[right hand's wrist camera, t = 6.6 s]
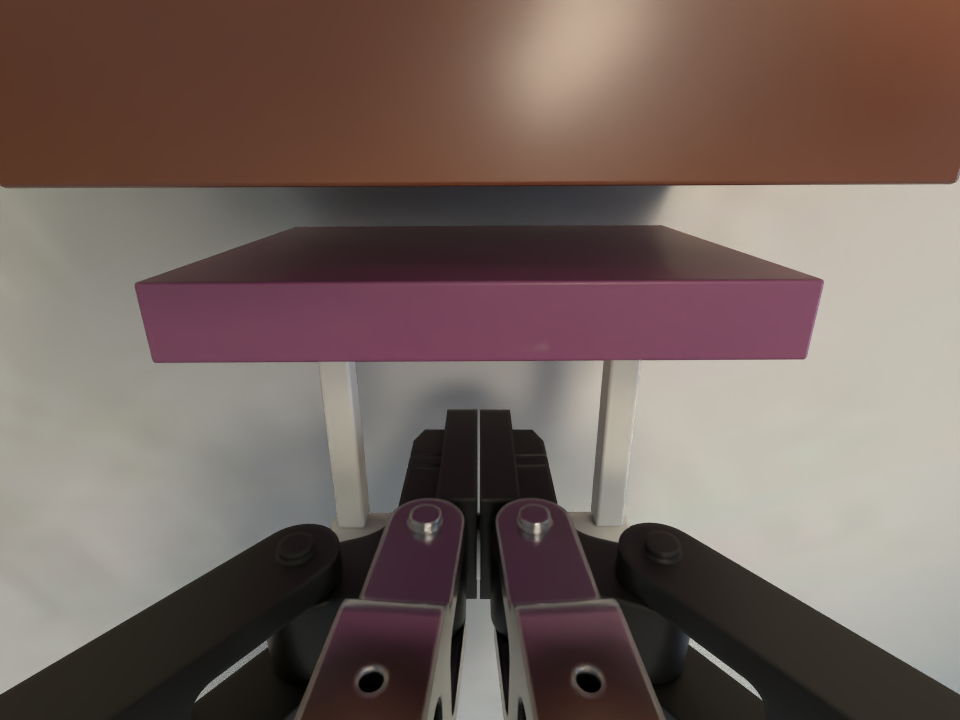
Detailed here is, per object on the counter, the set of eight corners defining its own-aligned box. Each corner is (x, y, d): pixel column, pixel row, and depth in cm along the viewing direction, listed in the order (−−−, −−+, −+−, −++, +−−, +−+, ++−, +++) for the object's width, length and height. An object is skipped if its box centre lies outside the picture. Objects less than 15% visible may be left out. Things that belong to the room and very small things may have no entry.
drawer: (634, 466, 16) (736, 664, 10) (325, 468, 16) (226, 667, 10) (735, -398, 10) (1245, -1508, 3) (215, -398, 10) (-308, -1517, 3)
